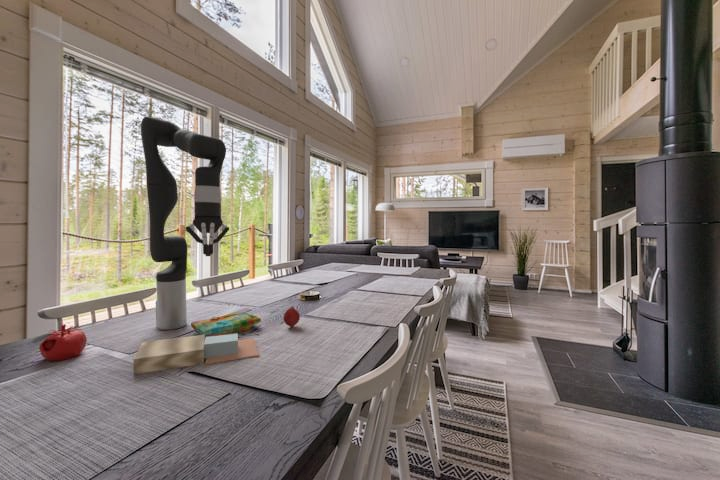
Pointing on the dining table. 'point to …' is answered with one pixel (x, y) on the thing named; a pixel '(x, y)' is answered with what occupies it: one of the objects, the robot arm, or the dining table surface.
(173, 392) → the dining table surface
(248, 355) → the tan flat square slab
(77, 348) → the red tomato
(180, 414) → the dining table surface
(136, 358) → the birch deck
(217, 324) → the puzzle game
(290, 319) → the onion
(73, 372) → the dining table surface
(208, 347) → the pale teal block
